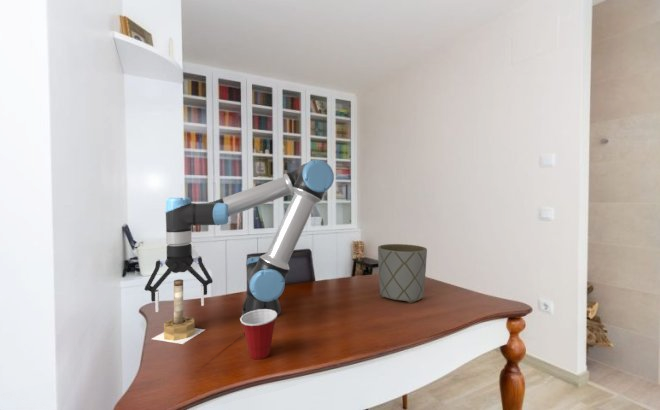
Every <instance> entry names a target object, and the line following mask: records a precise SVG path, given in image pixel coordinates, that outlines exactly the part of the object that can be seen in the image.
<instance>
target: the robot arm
mask: <svg viewBox="0 0 660 410" xmlns="http://www.w3.org/2000/svg"><path fill="white" fill-rule="evenodd" d="M334 181H335V173H334V171H333V168H332V167H331V165H330V164H329V163H327V162H325V161H323V160H321V159H320V160H319V159H312V160H309V161H308V162H306V163H303V164H301V165H300V166H299V167H297V168H294V169H293V170H291V171H289V172H286V173H284V174H283V176H282V177H278V178H277V179H272V180H270V181H267V182H265V183H261V184H259V185H257V186H254V187H253V186H252V187H250V188H248V189H245V190H242V191H239V192H236V193H234V194H233V193H232V194H230V195H227V196H224V197H222V198H220V199H217V200H213V201H210V202H207V203H205V202H202V203H195V202H192V201H191V198H190V197H169V198H167V199H166V201H165V211H164V213H165V227H166V228H165V235H166V236H165V238H166V239H165V240H166V241H165V242H166V244H167V246H166V259H165V260H161V259H156V262H155V268H154V269H153V271H152V273H151V275H150V277H149V279H148V281H147V283H146V284H145V287H144V290H145V291H146V292H148V291H149V292H150V298H151V302H154V303H155V305H154V307H155V313H158V312H159V311H160V304H159V303H160V301H159V300H160V298H159V297H160V296H159V289H158V288H159V287H160V286H161V285H162V284H163V282H164V281H165V280H166V279H167V278H168V276H169V275H170V274H172V273H173V274H178V273H185V272H189V274H191V275H192V276H193V277H194V278H196V280H197V281H198V282H199V283H201V284H200V303H201V304H200V305H201V307H204V306H205V299H204V298H205V297H204V296H207V295H208V286H209V285H210V284H212V283H214V282H213V279H212V277H211V275H210V273H209V272H208V270H207V268H206V267H205V264H204V263H203V258H202V256H200V255H199V256H198V257H193V255H192V254H193V251H192V227H193V226H221V225H227V224H228V223H229V217H231V216H232V217H233V216H235V215H238V214H240V213H243V212H246V211H249V210H251V209H253V208H257V207H259V206H261V205H265V204H267V203H270V202H273V201H276V200H278V199H281V198H284V197H286V196H289V195H290V196H292V198H291V201H289V204H288V206H287V209H286V211H285V212H284V215H283V217H282V219H281V220H280V223H279V225H278V227H277V230H276V232H275V234H274V236H273V238H272V241H271V243H270V244H269V246H268V248H267V251H266V253H264V254H262V255H260V256H251V257H248V258H247V260H246V264H245V266H246V296H245V299H244V302H243V305H242V309H241V316H243V315H244V314H245V313H248V312H250V311H254V310H258V309H271V310H274V311H276V313H277V317H279V316H280V315H281V304H280V301H279V299H278V298H279V297H281V295H282V294H283V292H284V290H285V288H286V287H285V286H286V285H285V284H286V282H285V281H286V278H287V276H288V273H289V271H290V265H289V262H290V259H291V258H292V254H293V253H294V251H295V249H296V246H297V244H298V242H299V240H300V237H301V236H302V233H303V230H304V229H305V227H306V225H307V223H308V220H309V218H310V215H311V214H312V211H313V209H314V207H315V205H316V204H319V203H320V202H322V199H323V198H324V196H325V193H326V192H327V191H328V190H329V189H330V188H331V187H332V185H333V183H334ZM194 262H195V264H196V265H198V266H199V268H200V270H201V271H202V273H203V274H204V277H205V278H206V279H205V278H203V276H202V275H200V274H199V272H197V270H196V269H194V267H192V265H193V263H194ZM164 265H165V266H166V267H167V269H166V270H165V272H164V273H163V274H162V275H161V276H160V278H159V279H158V280H157V281H156V282H155V283H154V284H153V282H154V280H155V278H156V276H157V274H158V273H159V270H160V268H162V267H164ZM152 284H153V285H152Z"/></svg>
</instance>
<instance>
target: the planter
mask: <svg viewBox="0 0 660 410" xmlns="http://www.w3.org/2000/svg"><path fill="white" fill-rule="evenodd" d="M427 254H428V249H427V247H425V246H420V245H417V244H416V245H414V244H403V243H401V244H399V243H390V244H389V243H387V244H382V245H378V246H377V258H378V259H377V260H378V264H377V265H378V280H379V281H378V283H379V294H380V297H381V298H382V299H384V298H388V299H391V300H395V301H402V302H403V301H404V302H407V303H408V304H412V303H415V302H418V301H419V300H422V299H423V298H424V294H425V283H426V271H427V270H426V269H427V258H428V255H427Z"/></svg>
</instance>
